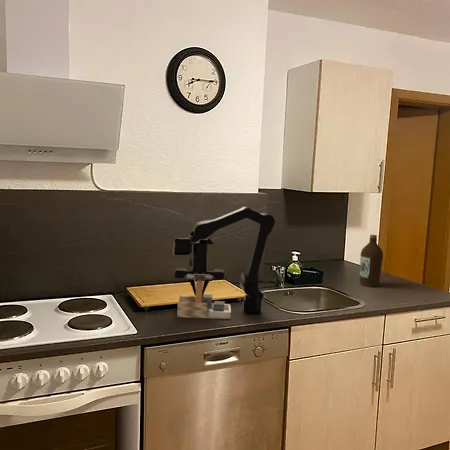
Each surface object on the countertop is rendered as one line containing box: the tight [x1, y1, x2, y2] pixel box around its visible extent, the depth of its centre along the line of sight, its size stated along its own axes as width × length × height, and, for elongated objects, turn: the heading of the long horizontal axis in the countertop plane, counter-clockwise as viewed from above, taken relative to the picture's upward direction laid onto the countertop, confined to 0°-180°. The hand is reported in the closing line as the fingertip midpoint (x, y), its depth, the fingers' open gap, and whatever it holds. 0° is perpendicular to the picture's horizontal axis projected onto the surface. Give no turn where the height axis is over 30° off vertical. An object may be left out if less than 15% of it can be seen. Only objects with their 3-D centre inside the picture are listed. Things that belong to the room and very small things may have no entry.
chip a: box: [213, 300, 226, 312], centre depth 184 cm, size 4×4×4 cm
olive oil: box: [359, 234, 384, 287], centre depth 236 cm, size 11×11×25 cm
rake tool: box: [195, 278, 204, 303], centre depth 183 cm, size 2×6×10 cm, turn 2°
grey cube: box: [202, 294, 213, 308], centre depth 184 cm, size 4×4×4 cm
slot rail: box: [176, 294, 208, 319], centre depth 184 cm, size 11×10×6 cm
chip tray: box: [206, 303, 232, 320], centre depth 185 cm, size 9×10×2 cm
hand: (198, 295), depth 184 cm, fingers closed on rake tool, 2 cm apart
